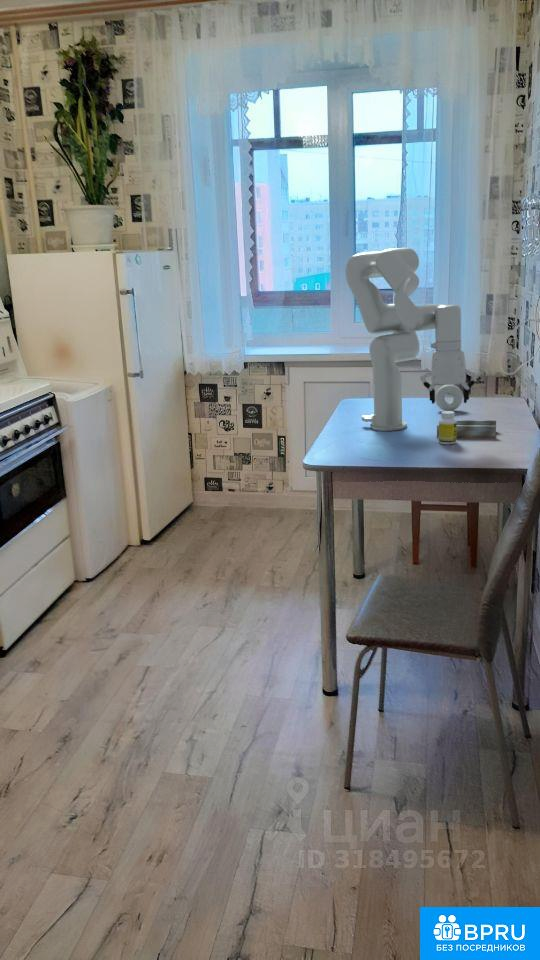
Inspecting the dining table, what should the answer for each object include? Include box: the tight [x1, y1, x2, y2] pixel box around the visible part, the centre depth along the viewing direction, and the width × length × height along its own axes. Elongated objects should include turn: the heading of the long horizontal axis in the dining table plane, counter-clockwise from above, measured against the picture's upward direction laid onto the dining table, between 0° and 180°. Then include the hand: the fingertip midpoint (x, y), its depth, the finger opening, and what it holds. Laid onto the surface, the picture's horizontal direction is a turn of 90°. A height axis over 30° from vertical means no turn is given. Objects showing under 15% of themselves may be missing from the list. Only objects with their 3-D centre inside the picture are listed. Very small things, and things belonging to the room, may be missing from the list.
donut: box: [435, 385, 464, 411], centre depth 284 cm, size 10×4×10 cm, turn 83°
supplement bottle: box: [438, 410, 457, 445], centre depth 240 cm, size 5×5×10 cm
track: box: [436, 419, 497, 439], centre depth 249 cm, size 18×9×4 cm, turn 72°
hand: (449, 402), depth 237 cm, fingers open, 9 cm apart
